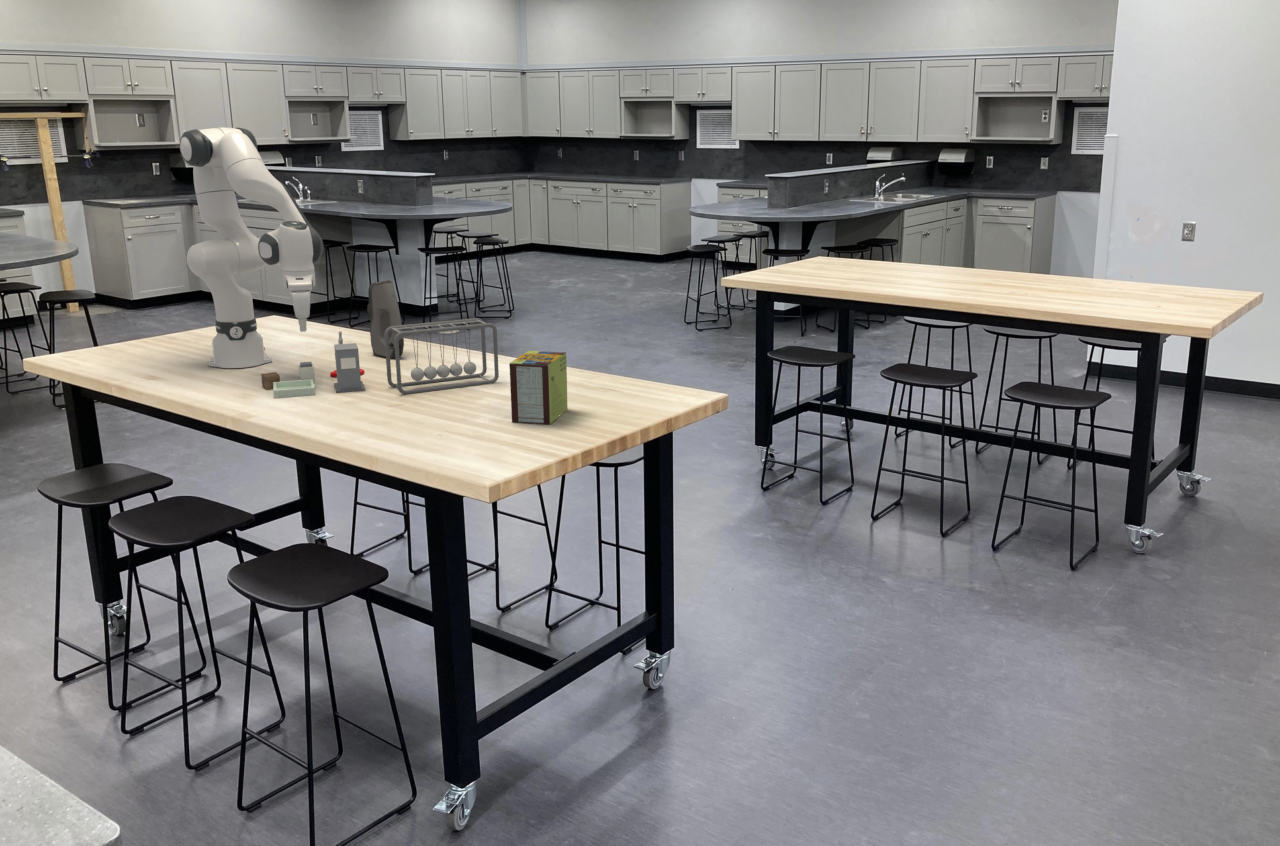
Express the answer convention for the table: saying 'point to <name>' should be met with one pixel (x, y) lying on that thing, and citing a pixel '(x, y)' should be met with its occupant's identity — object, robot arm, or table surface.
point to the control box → (347, 368)
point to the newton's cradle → (442, 370)
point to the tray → (293, 388)
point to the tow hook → (340, 341)
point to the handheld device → (384, 317)
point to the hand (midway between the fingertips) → (302, 328)
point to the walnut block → (269, 380)
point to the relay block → (306, 371)
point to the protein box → (538, 387)
